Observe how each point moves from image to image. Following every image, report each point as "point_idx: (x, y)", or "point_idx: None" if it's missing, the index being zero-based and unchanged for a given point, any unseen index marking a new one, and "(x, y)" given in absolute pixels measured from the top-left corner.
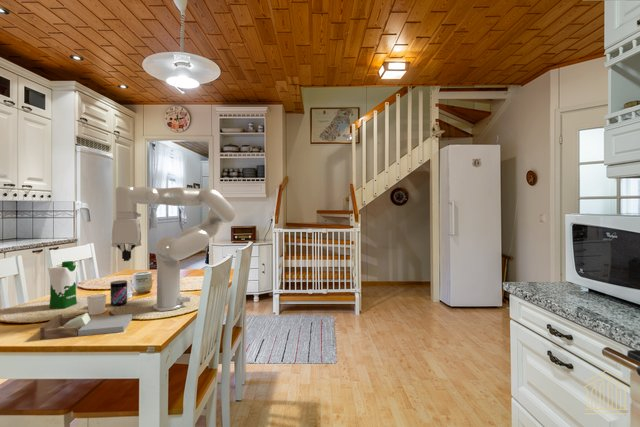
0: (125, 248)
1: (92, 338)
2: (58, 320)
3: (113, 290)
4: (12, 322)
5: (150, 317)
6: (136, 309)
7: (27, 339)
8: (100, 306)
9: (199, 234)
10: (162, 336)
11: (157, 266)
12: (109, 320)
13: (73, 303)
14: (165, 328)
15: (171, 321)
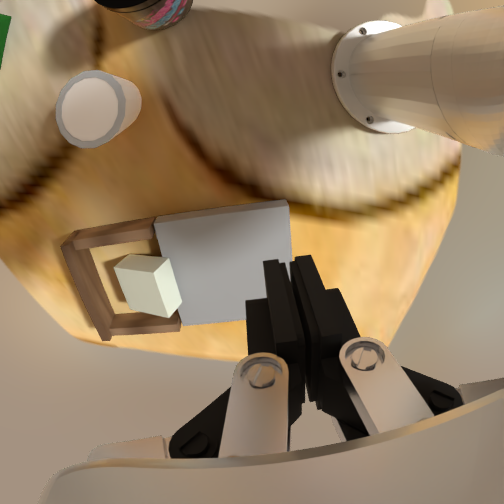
0: (289, 391)
1: (229, 332)
2: (82, 263)
3: (126, 15)
4: None
5: (345, 192)
6: (265, 79)
7: (83, 315)
8: (128, 124)
9: None
10: (384, 332)
11: (472, 112)
12: (232, 264)
13: (4, 32)
14: (391, 290)
15: (407, 242)
